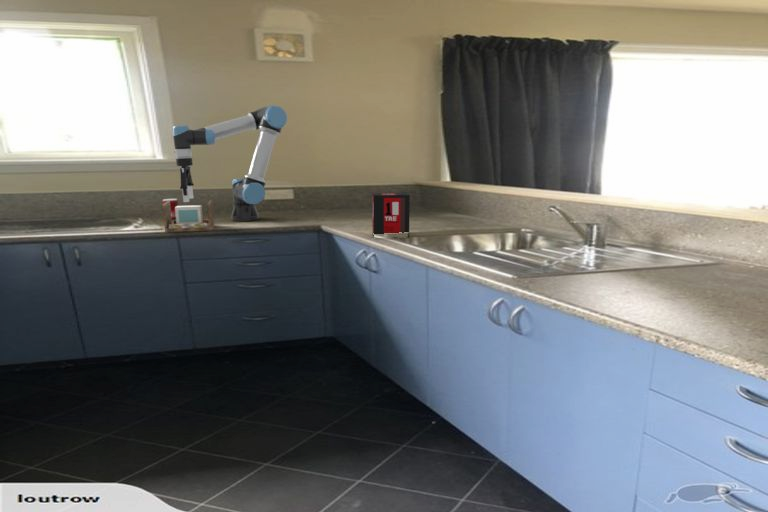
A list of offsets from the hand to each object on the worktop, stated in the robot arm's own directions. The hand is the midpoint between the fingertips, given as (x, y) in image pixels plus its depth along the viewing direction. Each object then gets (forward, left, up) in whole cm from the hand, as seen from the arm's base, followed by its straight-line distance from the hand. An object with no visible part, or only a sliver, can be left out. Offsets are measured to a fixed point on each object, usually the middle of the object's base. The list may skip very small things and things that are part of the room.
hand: (188, 200), depth 253 cm
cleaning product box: (-96, +43, -15) cm, 106 cm away
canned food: (+16, -38, -15) cm, 44 cm away
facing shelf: (0, 0, -15) cm, 15 cm away
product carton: (0, 0, -13) cm, 13 cm away
